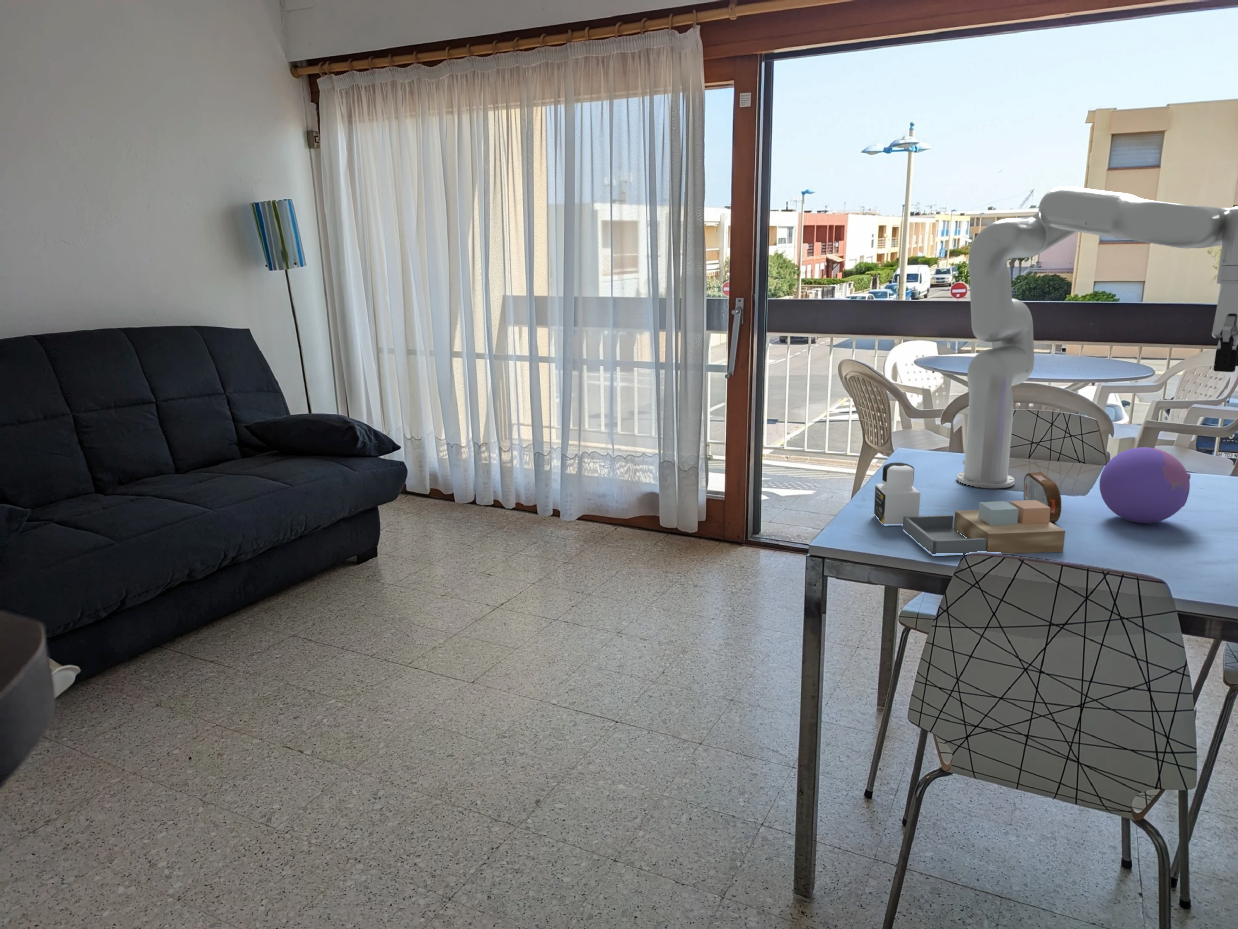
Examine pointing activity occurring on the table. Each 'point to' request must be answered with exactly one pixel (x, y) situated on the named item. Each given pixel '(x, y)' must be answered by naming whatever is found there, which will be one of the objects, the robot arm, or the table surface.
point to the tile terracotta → (1032, 511)
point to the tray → (941, 535)
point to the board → (1010, 534)
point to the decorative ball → (1144, 485)
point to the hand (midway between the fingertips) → (1228, 368)
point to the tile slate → (998, 513)
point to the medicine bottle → (896, 494)
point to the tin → (1043, 493)
